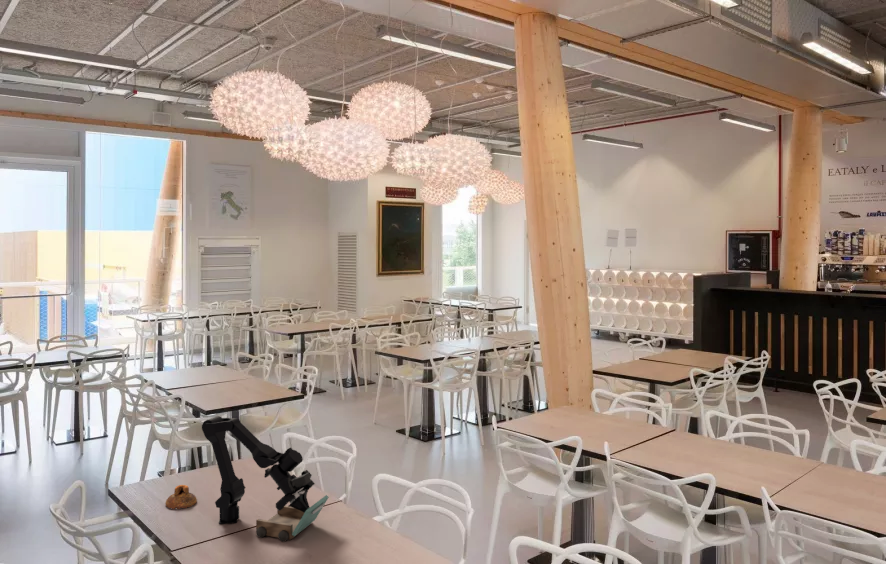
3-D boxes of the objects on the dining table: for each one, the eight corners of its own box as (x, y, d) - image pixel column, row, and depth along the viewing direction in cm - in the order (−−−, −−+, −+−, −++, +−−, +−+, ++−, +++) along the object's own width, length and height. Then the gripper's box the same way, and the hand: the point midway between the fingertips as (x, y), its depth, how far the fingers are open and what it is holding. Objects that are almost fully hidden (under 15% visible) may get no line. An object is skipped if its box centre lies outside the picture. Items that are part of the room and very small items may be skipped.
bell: (202, 499, 268) (201, 481, 268) (187, 510, 256) (187, 492, 256) (174, 497, 269) (174, 480, 269) (159, 509, 257) (159, 491, 257)
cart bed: (254, 536, 234) (254, 521, 234) (280, 517, 251) (280, 503, 250) (289, 542, 230) (289, 527, 229) (313, 522, 246) (313, 508, 246)
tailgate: (291, 534, 231) (306, 510, 228) (312, 517, 245) (326, 494, 243) (296, 538, 230) (310, 514, 228) (317, 521, 244) (330, 498, 242)
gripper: (283, 474, 228) (311, 510, 226) (310, 457, 246) (336, 491, 243) (263, 493, 231) (290, 528, 228) (291, 475, 249) (317, 508, 246)
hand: (309, 513), depth 237 cm, fingers closed, pressing on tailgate
